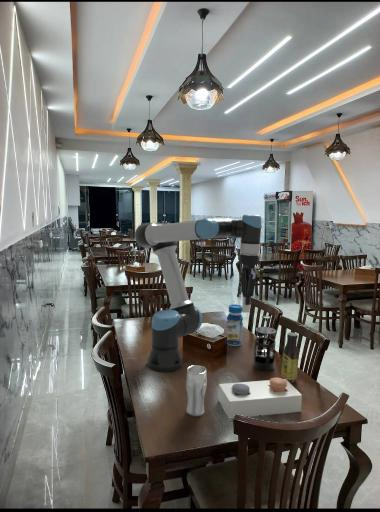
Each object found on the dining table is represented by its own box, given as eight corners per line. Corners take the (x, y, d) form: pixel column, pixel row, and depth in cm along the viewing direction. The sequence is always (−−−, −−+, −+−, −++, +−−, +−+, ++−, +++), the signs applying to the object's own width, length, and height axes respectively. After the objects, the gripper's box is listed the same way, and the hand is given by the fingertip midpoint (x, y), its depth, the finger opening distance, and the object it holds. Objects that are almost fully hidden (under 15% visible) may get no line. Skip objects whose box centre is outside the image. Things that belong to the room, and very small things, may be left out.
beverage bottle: (245, 344, 184) (247, 306, 181) (232, 347, 179) (234, 309, 177) (234, 339, 191) (236, 303, 188) (222, 342, 186) (223, 304, 184)
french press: (278, 372, 154) (281, 320, 151) (257, 372, 152) (260, 320, 149) (268, 360, 165) (271, 312, 162) (248, 361, 164) (251, 312, 161)
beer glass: (184, 406, 125) (185, 365, 123) (204, 405, 125) (205, 364, 123) (185, 417, 118) (187, 374, 116) (206, 417, 118) (208, 374, 116)
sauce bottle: (279, 376, 150) (282, 330, 147) (294, 376, 149) (297, 331, 147) (282, 383, 143) (286, 336, 141) (298, 384, 143) (302, 336, 140)
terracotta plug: (273, 403, 124) (274, 386, 123) (265, 395, 130) (266, 378, 129) (289, 402, 125) (290, 384, 125) (281, 393, 131) (282, 377, 130)
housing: (229, 418, 118) (229, 401, 117) (218, 399, 129) (219, 384, 129) (300, 411, 123) (302, 395, 123) (284, 394, 135) (285, 378, 134)
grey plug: (234, 410, 121) (235, 392, 120) (229, 401, 127) (229, 384, 126) (251, 409, 123) (252, 391, 122) (245, 400, 128) (245, 382, 128)
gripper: (265, 256, 136) (260, 316, 139) (252, 252, 148) (248, 307, 152) (246, 256, 134) (242, 317, 137) (235, 251, 147) (231, 307, 150)
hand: (245, 311), depth 144 cm, fingers closed
